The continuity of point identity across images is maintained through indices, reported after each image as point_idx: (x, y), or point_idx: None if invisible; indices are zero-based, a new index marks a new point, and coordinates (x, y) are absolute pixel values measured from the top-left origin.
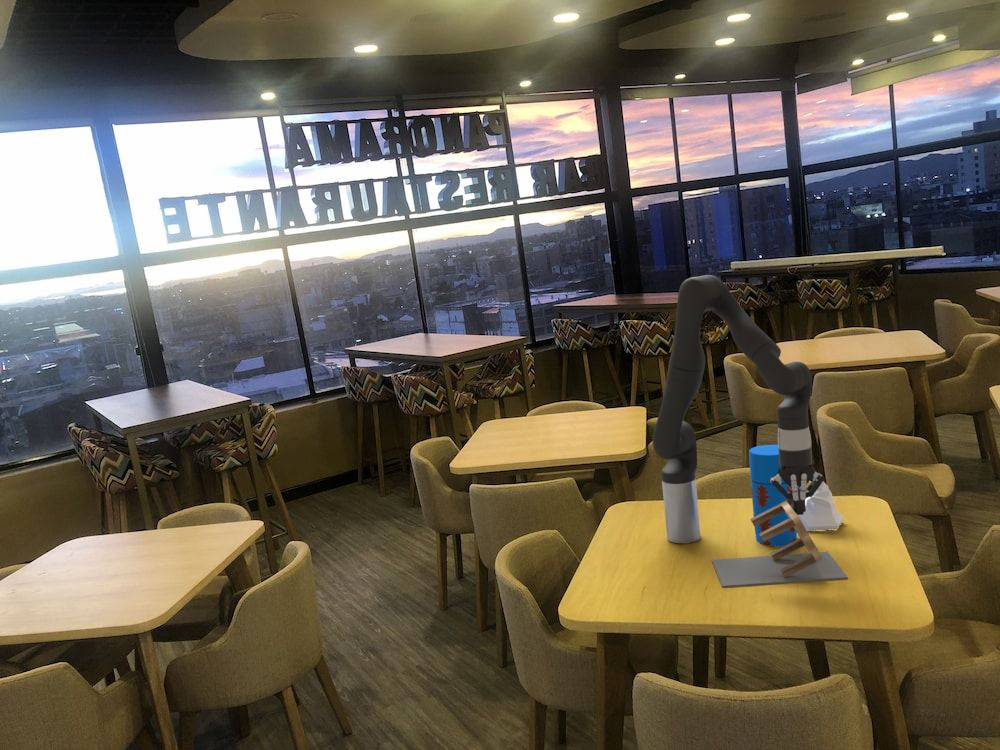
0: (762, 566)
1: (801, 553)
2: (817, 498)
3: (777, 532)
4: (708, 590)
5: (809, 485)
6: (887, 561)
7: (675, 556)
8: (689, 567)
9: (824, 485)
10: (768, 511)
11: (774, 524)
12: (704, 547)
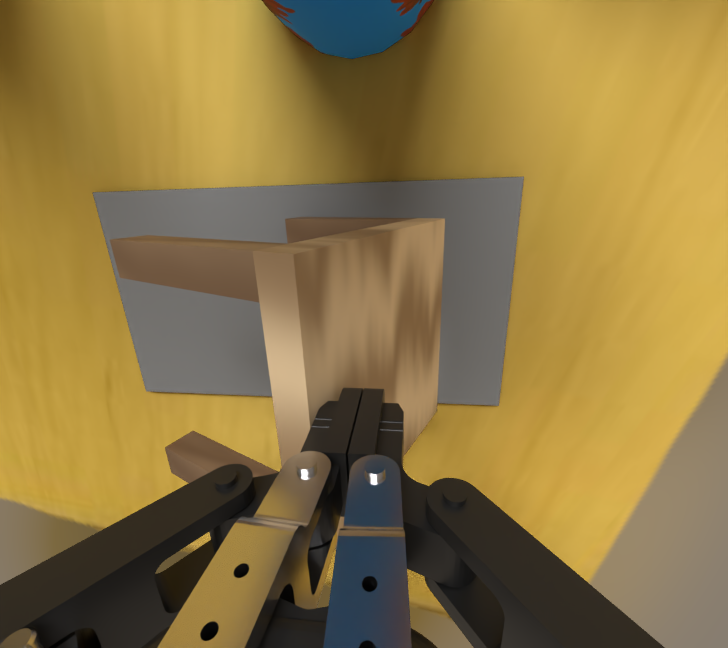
0: None
1: (415, 181)
2: None
3: None
4: (116, 397)
5: (489, 584)
6: (700, 299)
7: None
8: (35, 232)
9: None
10: (187, 274)
11: (307, 15)
12: (46, 24)
